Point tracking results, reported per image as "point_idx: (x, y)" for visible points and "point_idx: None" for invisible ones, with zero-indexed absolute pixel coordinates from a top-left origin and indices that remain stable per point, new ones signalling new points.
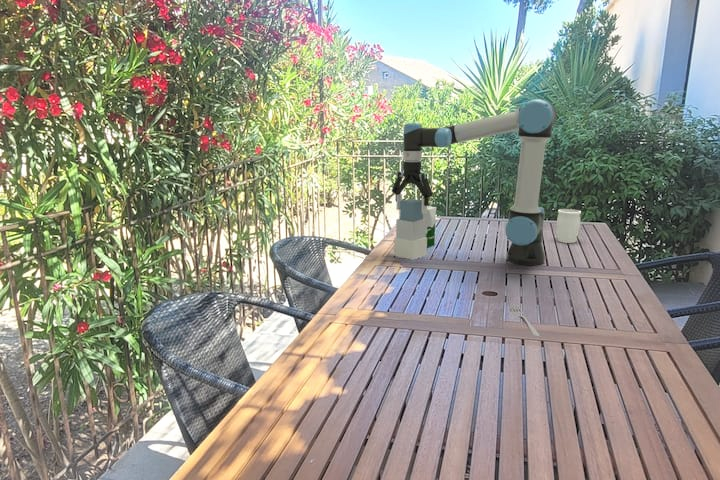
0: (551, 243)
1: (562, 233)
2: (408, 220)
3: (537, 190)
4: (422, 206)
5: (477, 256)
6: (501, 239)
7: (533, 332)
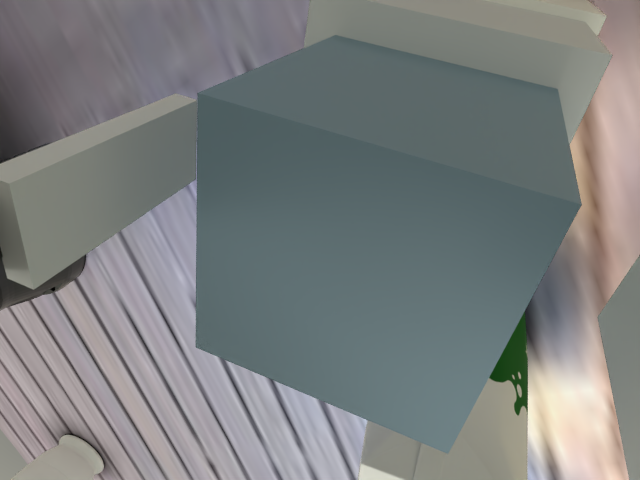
0: (95, 428)
1: (59, 461)
2: (403, 51)
3: None
4: (117, 127)
5: (165, 210)
6: (221, 453)
7: None
